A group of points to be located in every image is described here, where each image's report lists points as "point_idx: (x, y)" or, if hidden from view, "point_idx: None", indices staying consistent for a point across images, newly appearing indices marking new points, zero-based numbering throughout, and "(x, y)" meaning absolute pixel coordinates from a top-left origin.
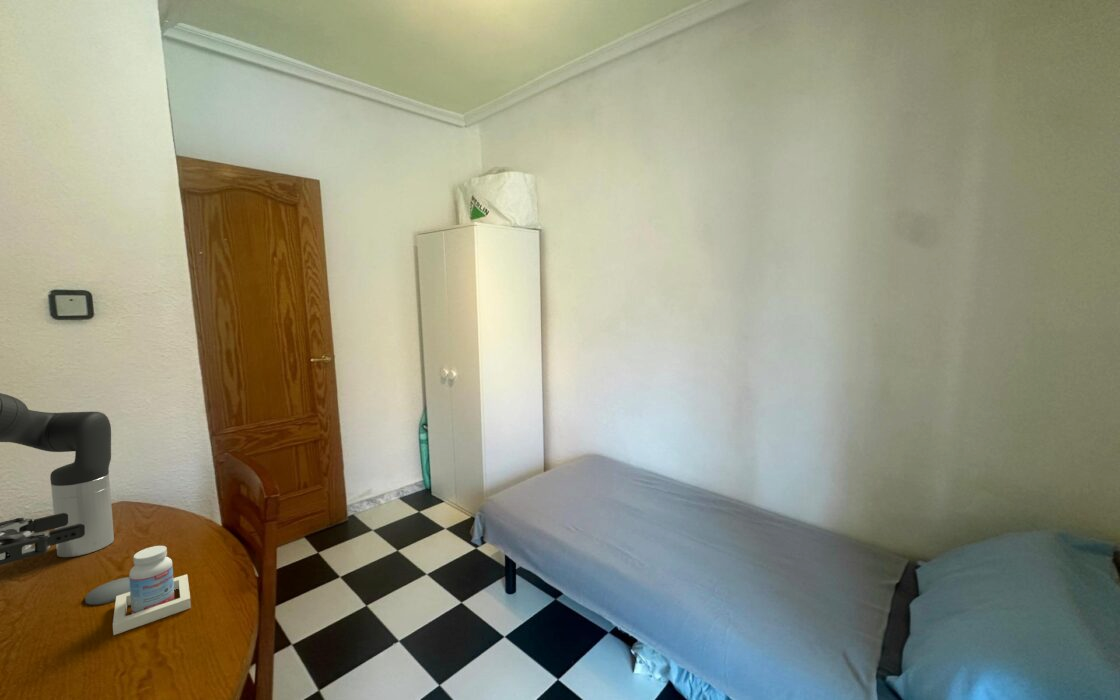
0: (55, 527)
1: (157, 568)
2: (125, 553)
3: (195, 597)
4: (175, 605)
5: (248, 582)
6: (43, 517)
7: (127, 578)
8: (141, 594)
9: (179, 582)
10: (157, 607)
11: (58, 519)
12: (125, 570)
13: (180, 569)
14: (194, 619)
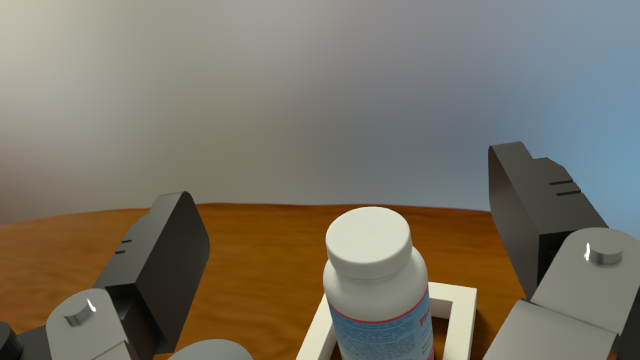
0: (196, 278)
1: (419, 260)
2: None
3: None
4: (473, 317)
5: (461, 219)
6: (129, 252)
7: (177, 358)
8: (418, 339)
9: None
10: (456, 343)
11: (183, 233)
12: None
13: (253, 281)
14: None
